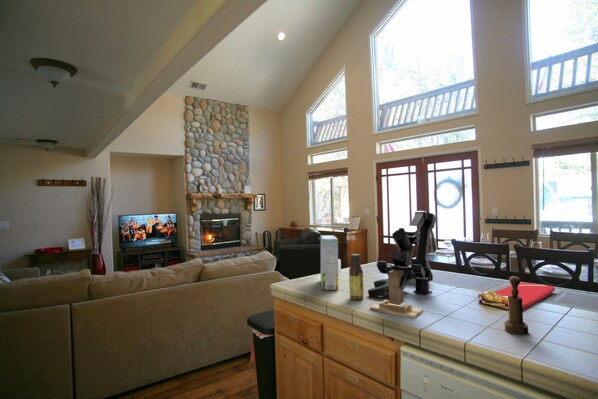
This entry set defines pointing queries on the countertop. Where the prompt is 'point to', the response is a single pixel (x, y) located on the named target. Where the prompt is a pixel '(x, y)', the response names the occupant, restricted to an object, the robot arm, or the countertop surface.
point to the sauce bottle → (356, 278)
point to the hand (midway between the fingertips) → (394, 286)
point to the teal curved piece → (382, 288)
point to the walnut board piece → (395, 287)
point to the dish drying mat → (527, 293)
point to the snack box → (329, 262)
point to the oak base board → (397, 309)
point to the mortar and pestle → (515, 310)
